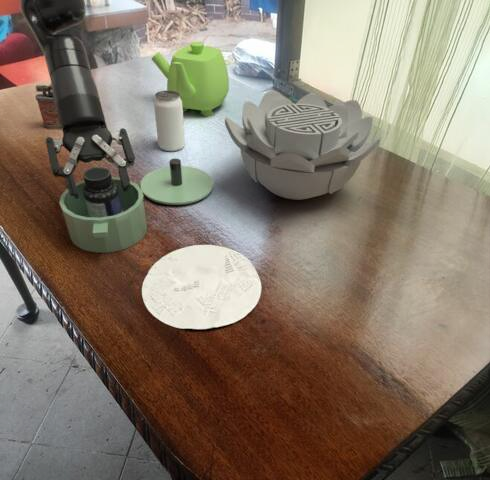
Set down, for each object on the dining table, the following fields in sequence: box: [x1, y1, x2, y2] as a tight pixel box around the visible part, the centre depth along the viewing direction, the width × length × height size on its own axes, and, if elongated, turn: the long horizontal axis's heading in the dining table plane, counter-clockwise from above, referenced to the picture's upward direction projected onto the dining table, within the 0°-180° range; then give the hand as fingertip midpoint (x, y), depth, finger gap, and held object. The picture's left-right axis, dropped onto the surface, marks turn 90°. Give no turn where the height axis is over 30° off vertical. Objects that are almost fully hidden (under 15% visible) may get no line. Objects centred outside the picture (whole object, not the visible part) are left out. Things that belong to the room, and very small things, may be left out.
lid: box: [139, 158, 214, 206], centre depth 96 cm, size 16×16×6 cm
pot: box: [58, 174, 148, 254], centre depth 85 cm, size 15×20×7 cm
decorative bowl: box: [224, 89, 382, 201], centre depth 96 cm, size 30×30×15 cm
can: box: [153, 89, 186, 152], centre depth 107 cm, size 6×6×12 cm
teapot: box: [151, 41, 230, 117], centre depth 123 cm, size 25×22×16 cm
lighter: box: [34, 83, 62, 130], centre depth 114 cm, size 8×3×10 cm, turn 94°
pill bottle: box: [82, 166, 122, 218], centre depth 83 cm, size 6×6×11 cm
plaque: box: [141, 244, 262, 330], centre depth 76 cm, size 20×20×2 cm
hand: (101, 193), depth 80 cm, fingers open, 8 cm apart
